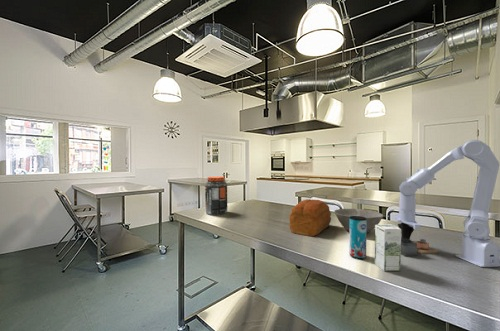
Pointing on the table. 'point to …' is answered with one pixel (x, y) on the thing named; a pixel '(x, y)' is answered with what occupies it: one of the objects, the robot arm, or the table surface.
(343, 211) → the ceramic bowl
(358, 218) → the beverage can
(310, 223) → the bread
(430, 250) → the pintle plate
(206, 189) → the supplement tub
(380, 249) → the milk carton
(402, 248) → the panel
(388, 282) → the table surface
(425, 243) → the link
